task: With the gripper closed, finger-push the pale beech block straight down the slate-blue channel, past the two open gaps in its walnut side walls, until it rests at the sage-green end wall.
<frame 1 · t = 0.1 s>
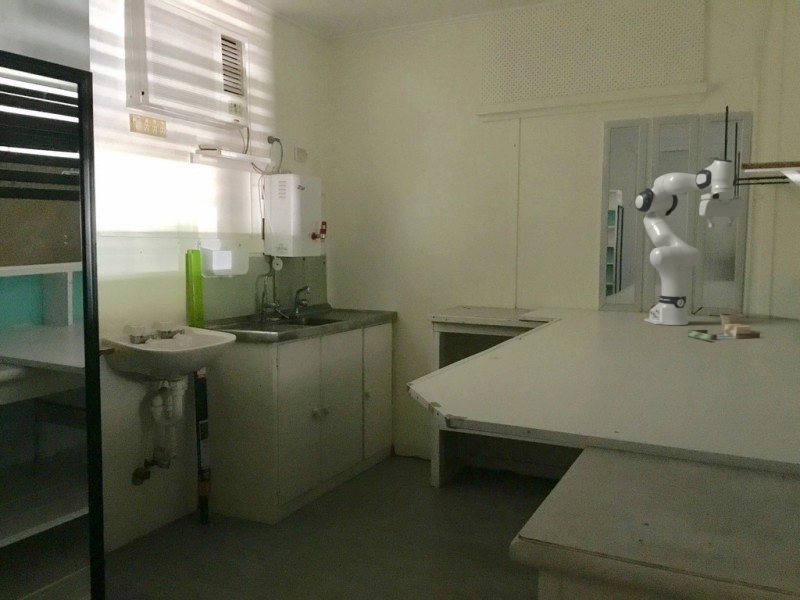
hand: (720, 227, 278), 48 cm above the table, fingers open, 8 cm apart
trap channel: (723, 338, 267), on the table
flower pot: (730, 334, 280), on the table
beech block: (737, 335, 268), point 1 cm above the table, touching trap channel
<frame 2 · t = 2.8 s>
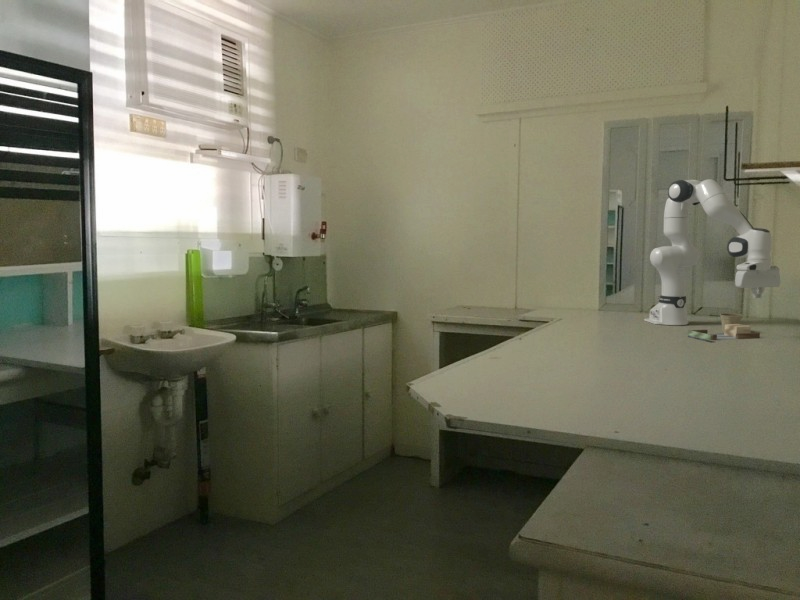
hand: (757, 297, 269), 17 cm above the table, fingers closed
nothing on the table moved.
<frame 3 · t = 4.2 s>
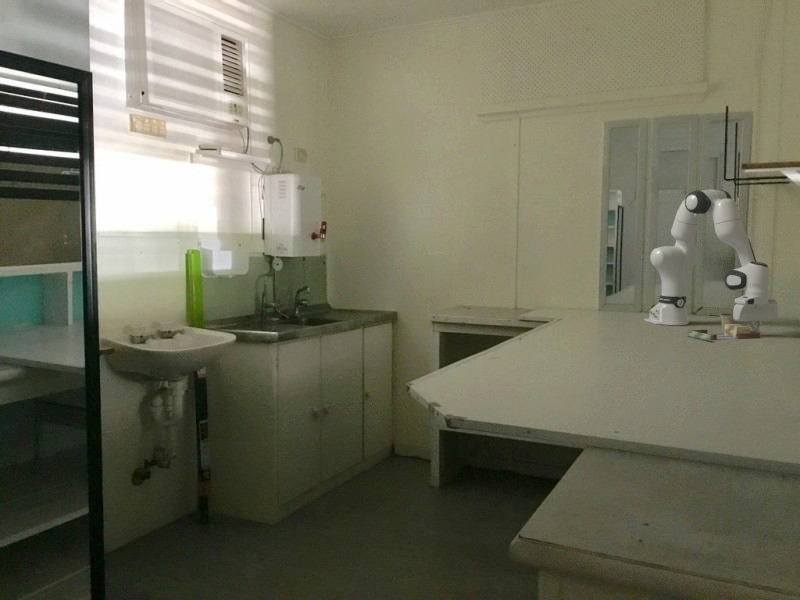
hand: (754, 331, 270), 3 cm above the table, fingers closed
nothing on the table moved.
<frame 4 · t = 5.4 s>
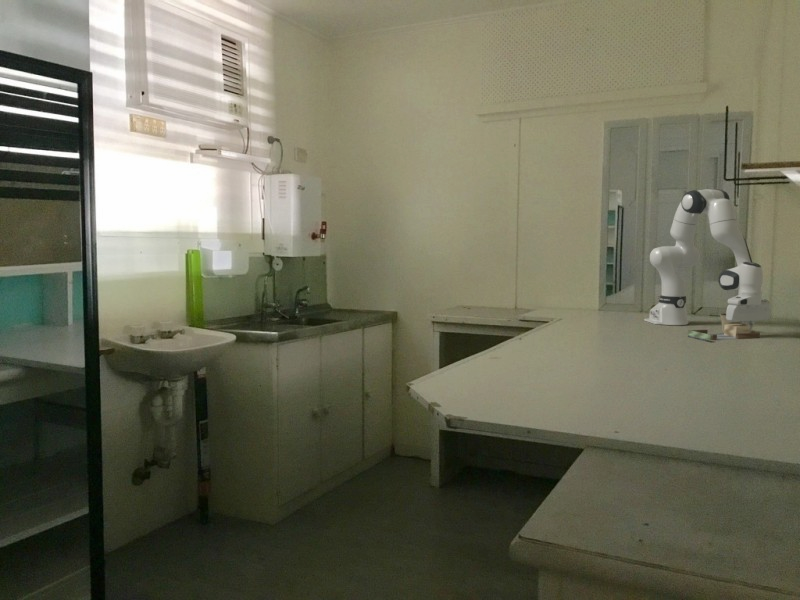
hand: (747, 331, 269), 3 cm above the table, fingers closed
beech block: (736, 335, 268), point 1 cm above the table, touching gripper, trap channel
everything else where it was.
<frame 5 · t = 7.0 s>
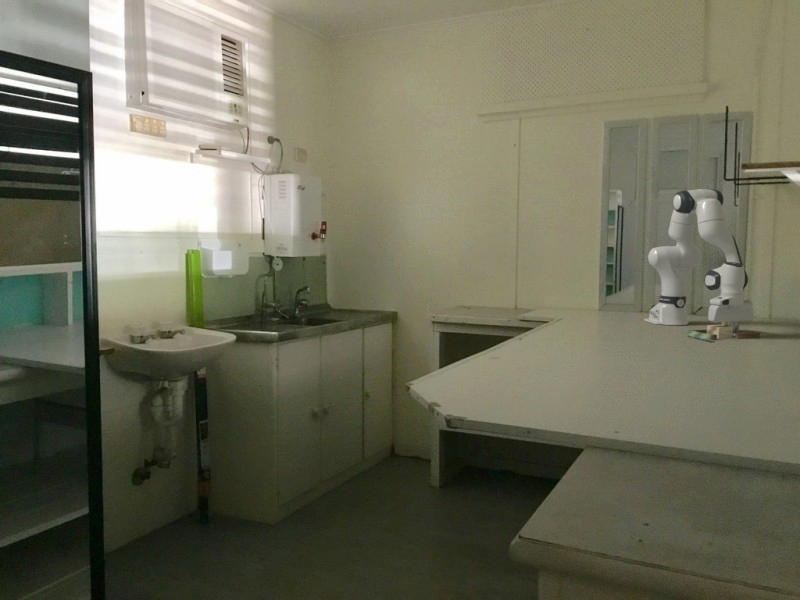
hand: (730, 332, 267), 3 cm above the table, fingers closed
beech block: (719, 336, 266), point 1 cm above the table, touching gripper, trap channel
everything else where it was.
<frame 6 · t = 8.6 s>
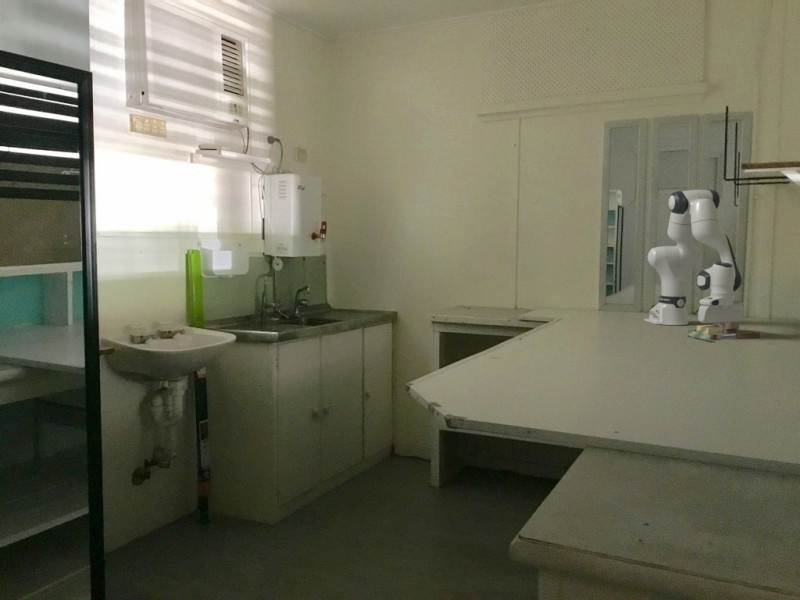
hand: (720, 332, 266), 3 cm above the table, fingers closed
beech block: (709, 337, 265), point 1 cm above the table, touching gripper, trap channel
everything else where it was.
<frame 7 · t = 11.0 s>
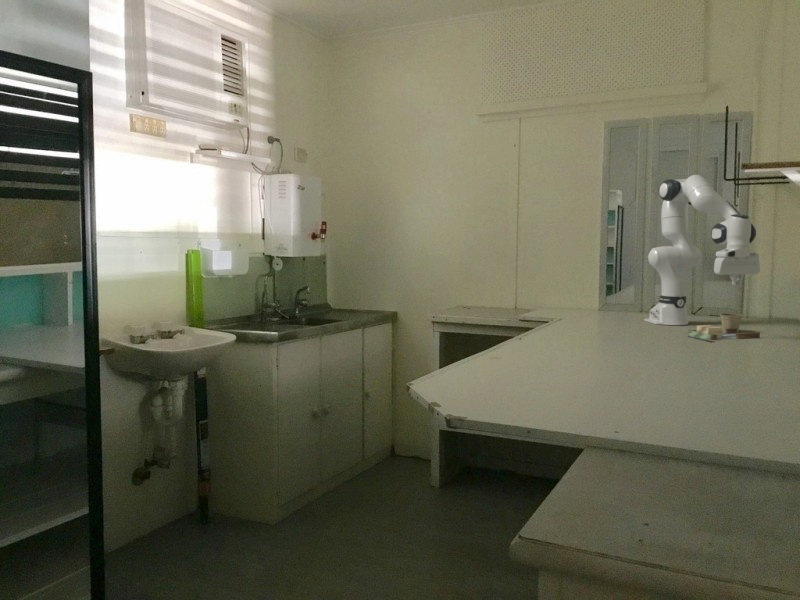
hand: (736, 284, 266), 23 cm above the table, fingers closed
beech block: (709, 337, 265), point 1 cm above the table, touching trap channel
everything else where it was.
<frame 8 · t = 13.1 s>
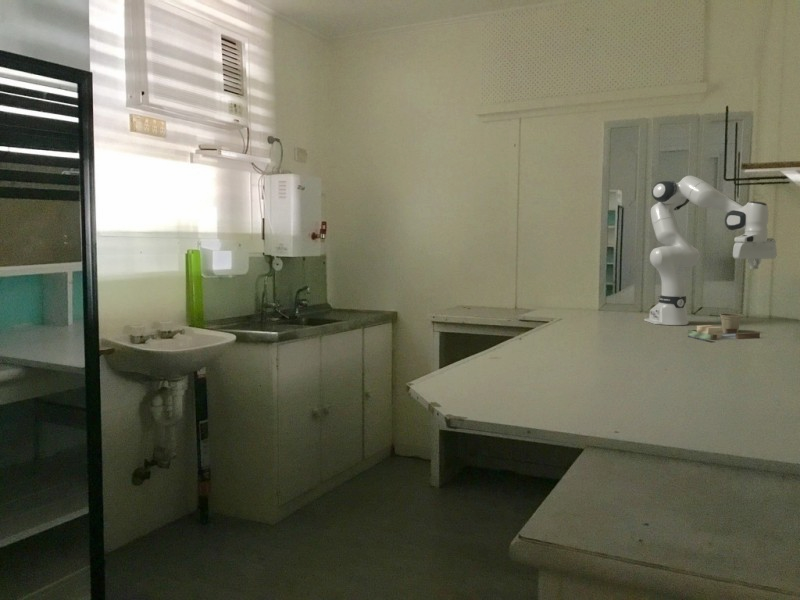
hand: (754, 269, 277), 29 cm above the table, fingers closed
nothing on the table moved.
at the end: beech block inside the target area (0.4 cm from its centre), point 1.0 cm above the table; beech block tilted 0°; beech block touching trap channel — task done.
